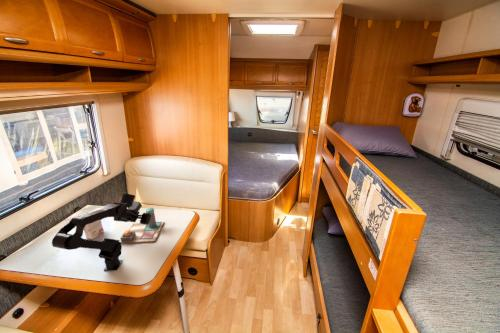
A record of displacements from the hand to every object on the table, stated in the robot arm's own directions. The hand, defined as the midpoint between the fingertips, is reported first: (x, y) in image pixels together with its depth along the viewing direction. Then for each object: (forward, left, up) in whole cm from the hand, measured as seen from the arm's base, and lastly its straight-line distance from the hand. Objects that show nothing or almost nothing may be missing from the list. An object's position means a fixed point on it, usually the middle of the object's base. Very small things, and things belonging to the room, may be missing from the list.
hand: (142, 220), depth 136 cm
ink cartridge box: (+3, +32, -11) cm, 34 cm away
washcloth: (+25, +43, -11) cm, 51 cm away
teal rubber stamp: (+7, -2, -9) cm, 12 cm away
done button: (-4, +8, -8) cm, 12 cm away
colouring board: (+2, +2, -10) cm, 11 cm away
